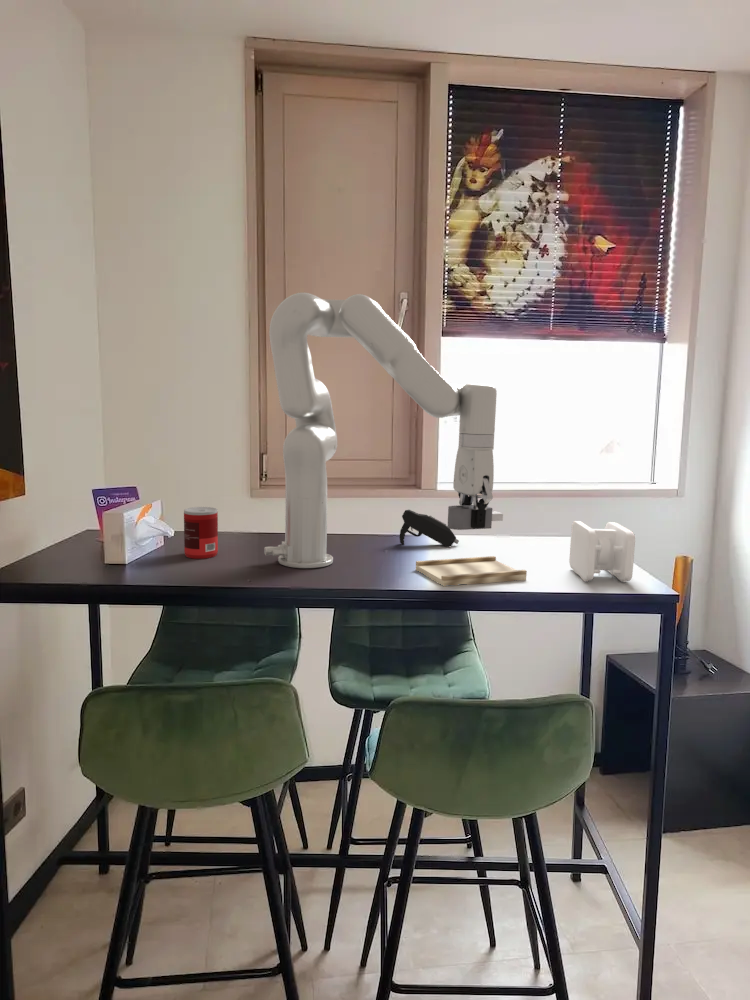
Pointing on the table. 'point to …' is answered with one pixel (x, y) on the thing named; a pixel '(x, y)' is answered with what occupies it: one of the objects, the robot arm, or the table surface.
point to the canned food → (200, 532)
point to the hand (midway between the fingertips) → (472, 524)
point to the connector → (469, 517)
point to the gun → (427, 528)
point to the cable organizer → (602, 550)
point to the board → (469, 571)
